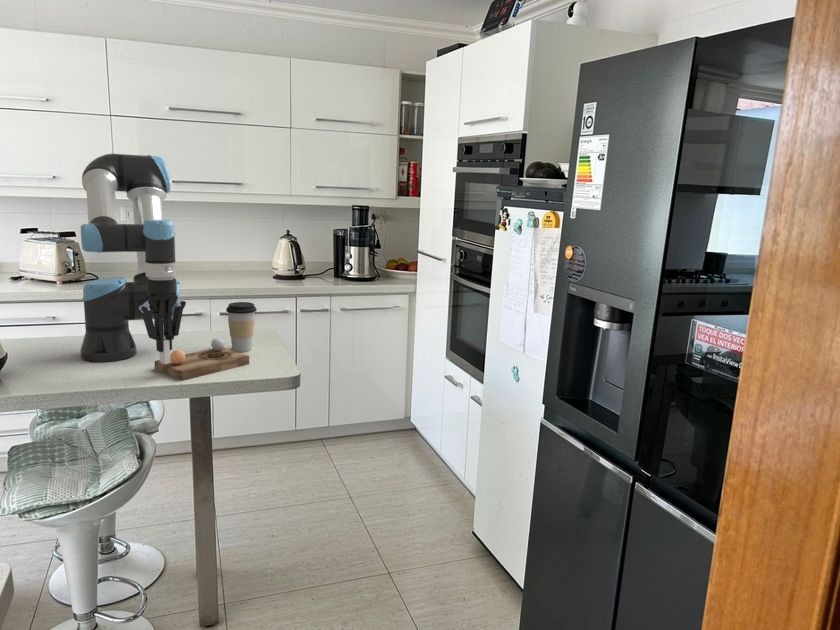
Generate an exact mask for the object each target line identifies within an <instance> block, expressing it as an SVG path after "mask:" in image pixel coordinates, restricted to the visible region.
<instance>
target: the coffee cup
mask: <svg viewBox="0 0 840 630" xmlns="http://www.w3.org/2000/svg"><path fill="white" fill-rule="evenodd" d="M227 305H228V306H227V307H226V309H225V311H226V312H227V321H228V329H229V336H230V341H231V350H233V351H236V352H239V353H246V352H247V353H248V352H250V351H251V350H252V347H253V345H252V344H253V336H254V332H255V331H254V329H255V313H256V312H257V307H256V306H255V304H254V303H252V302H249V301H237V302H236V301H234V302H230V303H228V304H227Z"/></svg>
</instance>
